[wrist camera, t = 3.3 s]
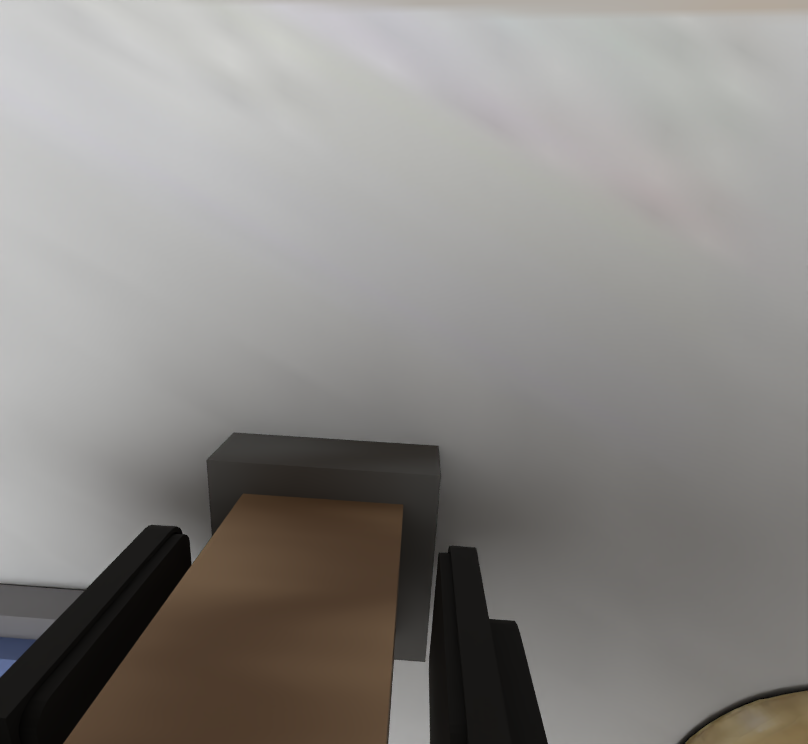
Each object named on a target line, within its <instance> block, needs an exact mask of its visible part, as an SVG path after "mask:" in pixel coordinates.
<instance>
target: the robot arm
mask: <svg viewBox="0 0 808 744" xmlns="http://www.w3.org/2000/svg"><path fill="white" fill-rule="evenodd" d="M191 565H192V564H191V553H190V541H189V537H188V536H187V535H185V534H182V530H181V529H180V528H179V527H175V526H161V525H150V526H148V527H147V528H145V529H144V530H143V531H142V532H141V533H140V534H139V535H138V536H137V537H136V538H135V540H134V541H133V542H132V543H131V544H130V545H129V546H128V547H127V548H126V549H125V550H124V551H123V552H122V553H121V554H120V555H119V556H118V557H117V558H116V559H115V560H114V561H113V562H112V563H111V564H110V565H109V566H108V567H107V568H106V569H105V570H104V571H103V572H102V573H101V574H100V575H99V576H98V577H97V579H96V580H95V581H94V582H93V583H92V584H91V585H90V586H89V587H88V588H87V589H86V590H85V591H84V592H83V593H82V594H81V595H80V596H79V597H78V598H77V599H76V600H75V601H74V602H73V603H72V604H71V605H70V606H69V607H68V608H67V609H66V610H65V611H64V612H63V613H62V614H61V615H60V617H59V618H58V619H57V620H56V621H55V622H54V623H53V624H52V625H51V626H50V627H49V628H48V629H47V630H46V631H45V632H44V633H43V634H42V635H41V636H40V637H39V638H38V639H37V640H36V641H35V642H34V643H33V644H32V645H31V646H30V647H29V648H28V649H27V650H26V651H25V652H24V653H23V654H22V656H21V657H20V658H19V659H18V660H17V661H16V662H15V663H14V664H13V665H12V666H11V667H10V668H9V669H8V670H7V671H6V672H5V673H4V674H3V675H2V676H1V677H0V744H63V743H64V742H65V741H66V739H67V738H68V736H69V735H70V734H71V732H72V731H73V729H74V728H75V727H76V725H77V724H78V722H79V721H80V720H81V718H82V717H83V715H84V714H85V713H86V711H87V710H88V709H89V707H90V706H91V704H92V703H93V702H94V700H95V699H96V697H97V696H98V695H99V693H100V692H101V690H102V689H103V688H104V686H105V685H106V683H107V682H108V681H109V679H110V678H111V677H112V675H113V674H114V672H115V671H116V670H117V668H118V667H119V665H120V664H121V663H122V661H123V660H124V658H125V657H126V656H127V654H128V653H129V651H130V650H131V649H132V647H133V646H134V645H135V643H136V642H137V640H138V639H139V638H140V636H141V635H142V633H143V632H144V631H145V629H146V628H147V626H148V625H149V624H150V622H151V621H152V619H153V618H154V617H155V615H156V614H157V613H158V611H159V610H160V608H161V607H162V606H163V604H164V603H165V601H166V600H167V599H168V597H169V596H170V594H171V593H172V592H173V590H174V589H175V587H176V586H177V585H178V583H179V582H180V581H181V579H182V578H183V576H184V575H185V574H186V572H187V571H188V569H189V568H190V567H191ZM429 703H430V744H548V742H547V738H546V734H545V730H544V726H543V722H542V718H541V714H540V710H539V707H538V703H537V699H536V695H535V691H534V687H533V683H532V679H531V675H530V671H529V667H528V663H527V659H526V655H525V651H524V647H523V643H522V639H521V635H520V632H519V629H518V625H517V624H516V622H515V621H508V620H495V619H489V616H488V611H487V605H486V600H485V594H484V589H483V583H482V577H481V572H480V566H479V561H478V555H477V550H476V548H475V547H460V546H449V549H448V553H440V552H439V554H438V564H437V576H436V587H435V598H434V610H433V621H432V633H431V644H430V656H429Z"/></svg>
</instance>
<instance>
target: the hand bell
mask: <svg viewBox="0 0 808 744" xmlns="http://www.w3.org/2000/svg"><path fill="white" fill-rule="evenodd" d="M685 744H808V691H802V692H795V693H790V694H785V695H780V696H776V697H772V698H767V699H759V700H757V701H754V702H752V703H749V704H746V705H744V706H742V707H740V708H737V709H734V710H732V711H731V712H729V713H727V714H725V715H723V716H721V717H719V718H718V719H716V720H714V721H713V722H711V723H709V724H708V725H706V726H705V727H704V728H702V729H701V730H700V731H698V732H697V733H696V734H694V735H693V736H692V737H690V738H689V739H688V741H687V742H686V743H685Z"/></svg>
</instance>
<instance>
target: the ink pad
mask: <svg viewBox="0 0 808 744" xmlns="http://www.w3.org/2000/svg"><path fill="white" fill-rule="evenodd" d="M83 592H84V591H82V590H69V589H55V588H42V587H28V586H14V585H1V584H0V677H1V676H2V675H3V674H4V673H5V672H6V671H7V670H8V669H9V668H10V667H11V666H12V665H13V664H14V663H15V662H16V661H17V660H18V659H19V658H20V657H21V656H22V654H23V653H24V652H25V651H26V650H27V649H28V648H29V647H30V646H31V645H32V644H33V643H34V642H35V641H36V640H37V639H38V638H39V637H40V636H41V635H42V634H43V633H44V632H45V631H46V630H47V629H48V628H49V627H50V626H51V625H52V624H53V623H54V622H55V621H56V620H57V619H58V618H59V617H60V615H61V614H62V613H63V612H64V611H65V610H66V609H67V608H68V607H69V606H70V605H71V604H72V603H73V602H74V601H75V600H76V599H77V598H78V597H79V596H80V595H81V594H82V593H83Z"/></svg>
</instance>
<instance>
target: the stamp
mask: <svg viewBox="0 0 808 744" xmlns="http://www.w3.org/2000/svg"><path fill="white" fill-rule="evenodd" d="M207 472H208V486H209V499H210V513H211V527H212V537H211V539H210V540H209V542H208V543H207V544H206V546H205V547H204V549H203V550H202V551H201V553H200V554H199V555H198V557H197V558H196V560H195V561H194V562H193V564H192V565H191V567H190V568H189V569H188V571H187V572H186V574H185V575H184V576H183V578H182V579H181V581H180V582H179V583H178V585H177V586H176V587H175V589H174V590H173V592H172V593H171V594H170V596H169V597H168V599H167V600H166V601H165V603H164V604H163V606H162V607H161V608H160V610H159V611H158V613H157V614H156V615H155V617H154V618H153V619H152V621H151V622H150V624H149V625H148V626H147V628H146V629H145V631H144V632H143V633H142V635H141V636H140V638H139V639H138V640H137V642H136V643H135V645H134V646H133V647H132V649H131V650H130V651H129V653H128V654H127V656H126V657H125V658H124V660H123V661H122V663H121V664H120V665H119V667H118V668H117V670H116V671H115V672H114V674H113V675H112V677H111V678H110V679H109V681H108V682H107V683H106V685H105V686H104V688H103V689H102V690H101V692H100V693H99V695H98V696H97V697H96V699H95V700H94V702H93V703H92V704H91V706H90V707H89V709H88V710H87V711H86V713H85V714H84V715H83V717H82V718H81V720H80V721H79V722H78V724H77V725H76V727H75V728H74V729H73V731H72V732H71V734H70V735H69V736H68V738H67V739H66V741H65V742H64V743H63V744H388V738H389V724H390V709H391V694H392V680H393V665H394V659H395V660H408V661H421V662H425V657H426V645H427V633H428V621H429V609H430V597H431V586H432V574H433V562H434V550H435V538H436V526H437V514H438V502H439V490H440V479H441V473H440V460H439V448H438V446H431V445H416V444H400V443H385V442H370V441H354V440H339V439H323V438H308V437H293V436H277V435H262V434H247V433H233V434H232V435H231V436H230V437H229V438H228V439H227V440H226V441H225V442H224V443H223V444H222V445H221V446H220V447H219V448H218V449H217V450H216V451H215V452H214V453H213V454H212V455H211V456H210V457H209V458H208V459H207Z"/></svg>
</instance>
